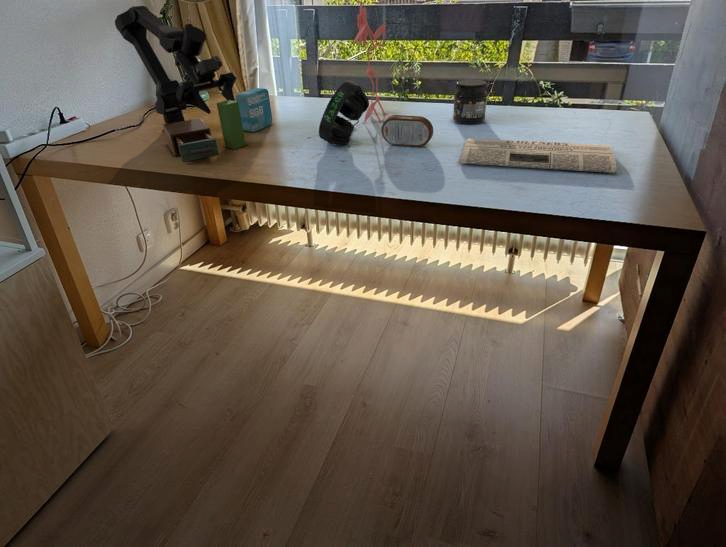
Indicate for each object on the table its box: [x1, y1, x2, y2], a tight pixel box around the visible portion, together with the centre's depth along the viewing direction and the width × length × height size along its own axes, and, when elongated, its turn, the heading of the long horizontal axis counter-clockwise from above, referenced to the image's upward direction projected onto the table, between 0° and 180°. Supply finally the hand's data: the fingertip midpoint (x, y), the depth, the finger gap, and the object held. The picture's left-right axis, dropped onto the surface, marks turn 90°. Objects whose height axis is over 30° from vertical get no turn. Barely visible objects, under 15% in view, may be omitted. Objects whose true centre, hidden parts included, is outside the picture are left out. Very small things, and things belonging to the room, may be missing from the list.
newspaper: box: [459, 137, 617, 174], centre depth 129 cm, size 37×19×3 cm, turn 73°
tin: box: [380, 114, 434, 148], centre depth 141 cm, size 15×3×8 cm, turn 71°
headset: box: [318, 79, 370, 147], centre depth 146 cm, size 18×14×29 cm
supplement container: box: [452, 79, 488, 125], centre depth 159 cm, size 10×10×12 cm
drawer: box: [174, 131, 220, 163], centre depth 141 cm, size 16×10×5 cm, turn 28°
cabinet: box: [162, 118, 212, 157], centre depth 150 cm, size 13×11×6 cm
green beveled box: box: [216, 100, 247, 150], centre depth 147 cm, size 4×4×13 cm
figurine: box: [352, 3, 387, 123], centre depth 162 cm, size 15×26×35 cm, turn 168°
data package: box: [234, 87, 273, 133], centre depth 163 cm, size 12×4×12 cm, turn 152°
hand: (222, 109), depth 147 cm, fingers open, 9 cm apart
